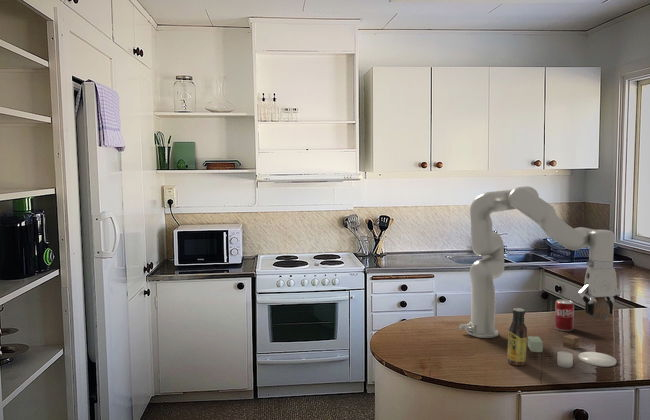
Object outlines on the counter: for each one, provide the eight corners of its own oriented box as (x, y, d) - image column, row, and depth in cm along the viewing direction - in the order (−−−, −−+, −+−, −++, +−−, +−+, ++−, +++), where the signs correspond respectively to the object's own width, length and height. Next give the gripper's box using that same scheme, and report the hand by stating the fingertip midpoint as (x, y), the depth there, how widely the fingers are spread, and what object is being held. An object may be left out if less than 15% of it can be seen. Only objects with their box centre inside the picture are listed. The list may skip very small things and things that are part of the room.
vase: (607, 317, 184) (608, 293, 184) (611, 323, 178) (612, 298, 177) (586, 315, 187) (587, 292, 186) (589, 321, 180) (590, 297, 179)
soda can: (575, 332, 214) (576, 304, 213) (556, 331, 215) (557, 303, 214) (570, 326, 221) (571, 299, 220) (552, 325, 223) (553, 298, 221)
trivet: (592, 367, 177) (593, 365, 177) (571, 354, 189) (571, 352, 189) (624, 365, 178) (624, 363, 178) (601, 352, 190) (601, 350, 190)
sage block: (531, 351, 193) (531, 341, 192) (527, 346, 198) (528, 336, 198) (542, 352, 192) (542, 342, 192) (538, 346, 198) (538, 336, 197)
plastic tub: (562, 368, 177) (562, 357, 177) (554, 362, 182) (554, 351, 181) (575, 367, 178) (576, 356, 177) (567, 361, 182) (567, 350, 182)
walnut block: (572, 349, 195) (572, 339, 194) (563, 346, 198) (563, 336, 198) (578, 347, 196) (579, 337, 196) (569, 344, 200) (570, 334, 200)
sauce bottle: (504, 360, 184) (505, 306, 183) (520, 359, 185) (522, 306, 183) (512, 367, 178) (513, 311, 176) (529, 366, 178) (531, 311, 177)
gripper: (585, 267, 176) (583, 317, 177) (630, 265, 178) (628, 315, 180) (571, 263, 183) (569, 311, 185) (615, 261, 185) (613, 309, 187)
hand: (598, 313), depth 182 cm, fingers closed on vase, 6 cm apart
